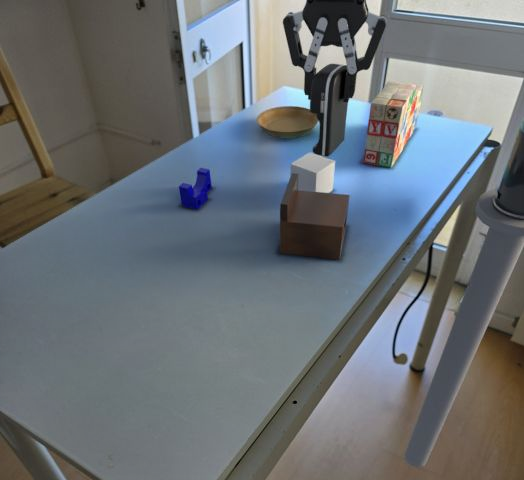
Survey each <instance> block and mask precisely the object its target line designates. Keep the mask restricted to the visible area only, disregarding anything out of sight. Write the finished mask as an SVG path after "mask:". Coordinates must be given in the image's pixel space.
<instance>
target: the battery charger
mask: <svg viewBox="0 0 524 480" xmlns="http://www.w3.org/2000/svg"><path fill="white" fill-rule="evenodd" d="M347 70H348V69H347V64H345V63H341V64H339V63H329V64H326V65H325V66H323V67H322V68H321V69H320V70H319V71H318V72H316V75H315V76H314V78H313V80H312V86H311V96H310V100H309V109H310V112H312V113H315V114H317V119H318V120H319V122H318V124H319V135H318V140H317V143H316V144H314V145H313V147H312V153H313V154H316V155H319V156H322V157H325V158H327V157H328V158H329V157H330V156H331V155H332V154H333V153H334V152H335V151H336V150H337V149H338V148H339V147H340V146H341V145H342V143H343V142H344V141H345V137H346V135H345V134H346V124H347V117H348V116H347V115H348V105H349V101H348V102H343V99H344V88H345V77H346V73H347Z"/></svg>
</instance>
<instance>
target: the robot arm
mask: <svg viewBox="0 0 524 480" xmlns="http://www.w3.org/2000/svg"><path fill="white" fill-rule="evenodd" d="M303 21H304V23H305V25H306V27H307V29H308V30H309V33H310V34H311V36H312V40H311V43H310V46H309V51H308V54H307V55H306V54H304V52H303V47H302V42H301V38H300V31H301V29H302V26H303V25H302V22H303ZM365 23H366V24H367V33H368V35H369V36H371V37H370V39H369V42H368V45H367V48H366V50H365V53H364V55H363V56H361V57H359V58H358V52H357V51H358V50H357V42H356V35H357V34H358V33H359V31H360V30H361V28H363V25H364V24H365ZM387 23H388V17H387V16H386V15H385V14H382V15H377V14H374V13H372V12H369V7H368V4H367V0H306V1H305V4H304V6H303V8H302V10H300V11H297V12H292V11H289V12H287V14H286V15H285V17H283V18H282V25H283V31H284V35H285V38H286V43H287V48H288V52H289V56H290V60H291V64H292V66H293V67H299V68H301V69H302V70H303V72H304V79H303V81H304V83H303V94H304V95H305V96H307V100H308V101H310V96H311V86H312V80H313V78H314V76H315V75H316V74H317V67H316V62H317V60H318V57H319V54H320V52H321V49H322V47H328V46H333V47H337V48H342V51H343V57H344V58H345V63H346V65H347V69H348V70H347V73H346V77H345V88H344V99H343V102H348V103H349V101H350V99H353V98H354V95H355V92H356V84H357V76H358V73H359V72H361V71H367V70H370V68H371V66H372V64H373V60H374V59H375V55H376V53H377V50H378V48H379V45H380V42H381V40H382V37H383V34H384V32H385V29H386V26H387ZM497 188H498V189H497ZM494 189H495V196H494V198H493V201H492V205H493V207H494V208H495V210H496V211H498V212H499V213H501V214H503V215H505V216H507V217H510V218H514V219H519V220H524V116H523V118H522V119H521V123H520V126H519V128H518V132H517V134H516V137H515V139H514V142H513V145H512V148H511V151H510V153H509V156H508V159H507V162H506V164H505V167H504V169H503V172H502V175H501V178H500V181H499V183H498V184H496V186H495V188H494Z"/></svg>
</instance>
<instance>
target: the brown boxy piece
mask: <svg viewBox="0 0 524 480" xmlns="http://www.w3.org/2000/svg"><path fill="white" fill-rule="evenodd" d="M298 184H299V174H295V173H292V174H291V177H290V178H289V180H288V183H287V185H286V188H285V190H284V193H283V195H282V198H281V201H280V203H279V254H283V255H284V254H285V255H295V256H301V257H302V256H304V257H311V258H312V257H313V258H320V259H330V260H340V259H341V255H342V250H343V245H344V238H345V234H346V230H347V221H348V212H349V203H350V194H344V193H333V192H330V193H323V192H311V191H300V190H298Z"/></svg>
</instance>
